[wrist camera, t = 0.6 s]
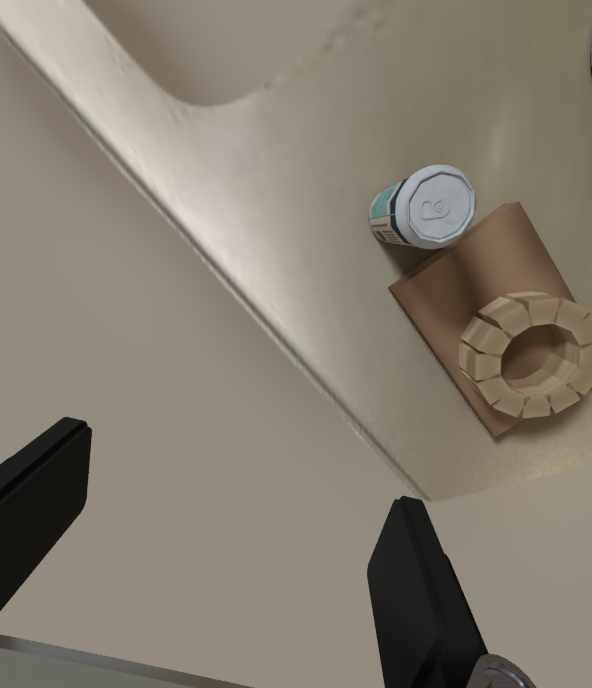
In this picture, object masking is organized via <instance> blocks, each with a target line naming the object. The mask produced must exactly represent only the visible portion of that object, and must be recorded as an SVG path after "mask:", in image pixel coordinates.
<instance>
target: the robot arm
mask: <svg viewBox="0 0 592 688" xmlns="http://www.w3.org/2000/svg"><path fill="white" fill-rule="evenodd" d="M591 66H592V46H591ZM91 437H92V429H91V428H90V427H88V426H87V423H86V422H85V421H82V420H78V419H74V418H70V417H64V418H62V419H61V420H60V421H58V422H57V423H56V424H54V425H53V426H52V427H51V428H49V429H48V430H46V431H45V432H44V433H42V434H41V435H40V436H39V437H37V438H36V439H34V440H33V441H32V442H30V443H29V444H28V445H26V446H25V447H24V448H23V449H21V450H20V451H19V452H17V453H16V454H15V455H13V456H12V457H10V458H8V459H7V460H5V461H4V462H3V463H1V464H0V611H1V610H2V608H3V607H4V606H5V605H6V604H7V602H8V601H9V600H10V598H11V597H12V596H13V595H14V594H15V593H16V591H17V590H18V589H19V587H20V586H21V585H22V584H23V583H24V582H25V580H26V579H27V578H28V577H29V575H30V574H31V573H32V572H33V570H34V569H35V568H36V567H37V565H38V564H39V563H40V562H41V561H42V559H43V558H44V557H45V556H46V554H47V553H48V552H49V551H50V550H51V548H52V547H53V546H54V545H55V544H56V542H57V541H58V540H59V538H60V537H61V536H62V535H63V534H64V532H65V531H66V530H67V529H68V528H69V526H70V525H71V524H72V523H73V521H74V520H75V519H76V518H77V516H78V515H79V514H80V513H81V511H82V510H83V508H84V505H85V503H86V499H87V486H88V474H89V461H90V450H91ZM367 578H368V584H369V591H370V597H371V603H372V609H373V616H374V622H375V628H376V634H377V641H378V647H379V653H380V659H381V666H382V671H383V678H384V684H385V688H536V686H535V685H534V684H533V682H532V681H531V680H530V678H529V677H528V676H527V675H526V674H525V673H524V672H523V671H522V670H521V669H520V668H519V667H517V666H516V665H515V664H513V663H512V662H510V661H508V660H507V659H505V658H503V657H500V656H499V655H494V654H489V653H488V651H487V649H486V646H485V644H484V641H483V639H482V637H481V634H480V632H479V629H478V627H477V625H476V622H475V620H474V618H473V615H472V613H471V610H470V608H469V605H468V603H467V601H466V598H465V596H464V593H463V591H462V589H461V586H460V584H459V582H458V579H457V577H456V574H455V572H454V570H453V567H452V565H451V562H450V560H449V558H448V557H447V555H445V554H444V552H443V550H442V547H441V545H440V542H439V540H438V537H437V535H436V532H435V530H434V527H433V525H432V523H431V520H430V518H429V515H428V513H427V510H426V508H425V505H424V503H423V501H422V500H419V499H415V498H411V497H406V496H402V497H401V498H400V499H399V500H397V499H395V500H394V502H393V504H392V507H391V509H390V512H389V514H388V517H387V519H386V522H385V524H384V527H383V529H382V532H381V534H380V537H379V539H378V542H377V544H376V547H375V549H374V551H373V554H372V556H371V559H370V561H369V564H368V570H367ZM0 688H253V687H249V686H244V685H240V684H235V683H230V682H226V681H221V680H216V679H212V678H207V677H202V676H198V675H193V674H188V673H183V672H179V671H174V670H169V669H165V668H160V667H155V666H151V665H146V664H141V663H136V662H132V661H127V660H122V659H118V658H113V657H108V656H103V655H98V654H93V653H88V652H84V651H79V650H74V649H68V648H64V647H59V646H54V645H50V644H45V643H40V642H35V641H30V640H25V639H21V638H16V637H10V636H4V635H0Z"/></svg>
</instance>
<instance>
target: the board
mask: <svg viewBox="0 0 592 688" xmlns="http://www.w3.org/2000/svg"><path fill="white" fill-rule="evenodd" d="M388 289H389V290H390V292H391V293H392V294H393V296H394V297H395V299H396V300H397V302H398V303H399V304H400V306H401V307H402V309H403V310H404V312H405V313H406V314H407V316H408V317H409V319H410V320H411V322H412V323H413V324H414V326H415V327H416V329H417V330H418V332H419V333H420V335H421V336H422V337H423V339H424V340H425V342H426V343H427V345H428V346H429V347H430V349H431V350H432V352H433V353H434V355H435V356H436V357H437V359H438V360H439V362H440V363H441V365H442V366H443V367H444V369H445V370H446V372H447V373H448V375H449V376H450V377H451V379H452V380H453V382H454V383H455V385H456V386H457V388H458V389H459V390H460V392H461V393H462V395H463V396H464V398H465V399H466V400H467V402H468V403H469V405H470V406H471V408H472V409H473V410H474V412H475V413H476V415H477V416H478V418H479V419H480V420H481V422H482V423H483V425H484V426H485V427H486V428H487V429H488V430H489V431H490V432H491V434H492V435H493V436H494V437H496V436H498V435H500V434H502V433H503V432H505V431H507V430H508V429H510V428H512V427H514V426H515V425H517V424H519V423H521V422H522V421H524V420H526V419H528V418H532V417H542V416H550V410H551V411H553V412H554V413H558V412H560V411H562V410H563V409H565V408H567V407H569V406H570V405H572V404H574V403H576V402H577V401H579V400H580V398H579V396H578V395H577V393H576V392H579V393H581V394H583V395H586V394H587V393H588V391H589V390H590V388H591V387H592V313H590V312H589V309H587V308H585V307H582V306H580V305H578V304H577V303H576V301H575V300H574V298H573V296H572V294H571V293H570V291H569V289H568V287H567V285H566V284H565V282H564V280H563V278H562V277H561V275H560V273H559V271H558V270H557V268H556V266H555V264H554V262H553V261H552V259H551V257H550V255H549V254H548V252H547V250H546V248H545V247H544V245H543V243H542V241H541V239H540V238H539V236H538V234H537V232H536V231H535V229H534V227H533V225H532V224H531V222H530V220H529V218H528V216H527V215H526V213H525V211H524V209H523V208H522V206H521V204H520V202H517V203H510V204H504V205H502V206H501V207H499V208H498V209H497V210H495V211H494V212H492V213H491V214H490V215H488V216H487V217H485V218H484V219H483V220H481V221H480V222H479V223H477V224H476V225H474V226H473V227H472V228H470V229H469V230H467V231H466V232H465V233H464V234H463V235H462V236H461V237H460V238H459V239H458V240H457V241H455V242H454V243H452V244H450V245H448V246H446V247H444V248H442V249H441V250H440V251H438V252H437V253H435V254H434V255H433V256H431V257H430V258H428V259H427V260H426V261H424V262H423V263H421V264H420V265H419V266H417V267H416V268H414V269H413V270H412V271H410V272H409V273H408V274H406V275H405V276H403V277H402V278H401V279H399V280H398V281H396V282H395V283H394V284H392V285H391V286H389V287H388Z"/></svg>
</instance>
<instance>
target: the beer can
mask: <svg viewBox="0 0 592 688" xmlns="http://www.w3.org/2000/svg"><path fill="white" fill-rule="evenodd" d="M475 210H476V195H475V190H474V188H473V185H472V183H471V182H470V180H469V179H468V178H467V176H466V175H465V174H464V173H462V172H461V171H460V170H458V169H456V168H454V167H451V166H448V165H433V166H429V167H425V168H423V169H421V170H419V171H417V172H416V173H415V174H413V175H412V176H411V177H409V178H407V179H405V180H403V181H401V182H399V183H398V184H396V185H394V186H392V187H389V188H387V189H385V190H383V191H382V192H380V193H379V194H378V195H377V196H376V197H375V199H374V200H373V202H372V204H371V206H370V209H369V218H368V219H369V225H370V228H371V230H372V232H373V233H374V235H375V236H376V237H377V238H378V239H380V240H381V241H384V242H386V243H391V244H403V245H409V246H416V247H419V248H424V249H438V248H443V247H446V246H448V245H450V244H452V243H454V242H455V241H457V240H458V239H459V238H460V237H461V236H462V235H463V234H464V233H465V232H466V230H467V229H468V227H469V226H470V224H471V222H472V220H473V217H474V214H475Z"/></svg>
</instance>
